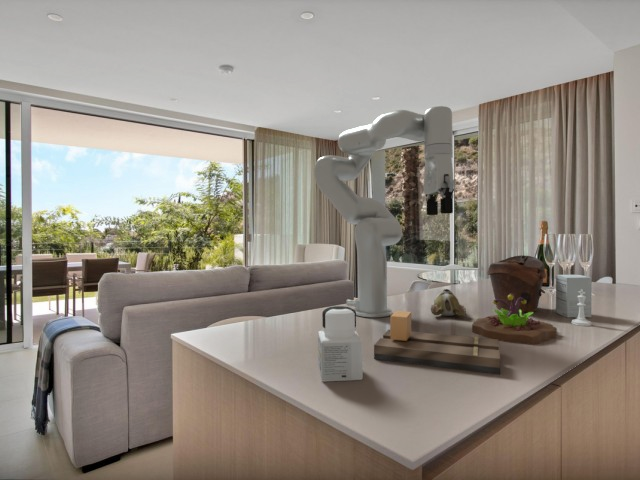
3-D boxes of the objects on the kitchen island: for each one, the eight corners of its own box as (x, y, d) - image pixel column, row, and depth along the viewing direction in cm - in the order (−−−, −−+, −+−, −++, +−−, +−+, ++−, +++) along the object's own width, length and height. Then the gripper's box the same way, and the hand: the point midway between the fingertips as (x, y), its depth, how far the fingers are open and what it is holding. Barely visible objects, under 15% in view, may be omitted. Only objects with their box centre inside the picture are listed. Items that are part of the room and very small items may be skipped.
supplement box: (578, 312, 129) (579, 274, 129) (592, 318, 122) (592, 277, 121) (554, 312, 130) (555, 274, 129) (566, 317, 122) (567, 277, 122)
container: (318, 367, 81) (317, 304, 81) (355, 366, 82) (355, 303, 81) (321, 382, 73) (321, 312, 73) (362, 380, 74) (362, 311, 74)
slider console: (374, 358, 86) (374, 344, 86) (388, 341, 99) (388, 328, 99) (500, 374, 77) (500, 357, 76) (498, 352, 89) (498, 338, 89)
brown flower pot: (496, 314, 127) (496, 259, 127) (481, 302, 147) (481, 254, 146) (556, 316, 124) (557, 259, 124) (533, 304, 144) (533, 254, 143)
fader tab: (390, 348, 89) (390, 316, 89) (396, 341, 94) (395, 310, 94) (406, 350, 87) (406, 317, 87) (411, 342, 93) (411, 311, 93)
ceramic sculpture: (461, 284, 134) (467, 295, 119) (461, 309, 134) (467, 323, 120) (428, 284, 136) (431, 294, 121) (428, 309, 137) (431, 322, 122)
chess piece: (585, 326, 111) (585, 291, 111) (567, 323, 116) (567, 289, 115) (595, 324, 114) (595, 290, 113) (577, 321, 118) (577, 287, 118)
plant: (460, 334, 106) (460, 292, 106) (487, 321, 120) (487, 284, 120) (544, 349, 92) (544, 302, 92) (563, 332, 107) (563, 291, 106)
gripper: (414, 158, 119) (415, 215, 119) (438, 146, 102) (439, 212, 102) (438, 158, 120) (439, 215, 120) (465, 146, 103) (466, 212, 103)
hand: (439, 214), depth 111 cm, fingers open, 9 cm apart
